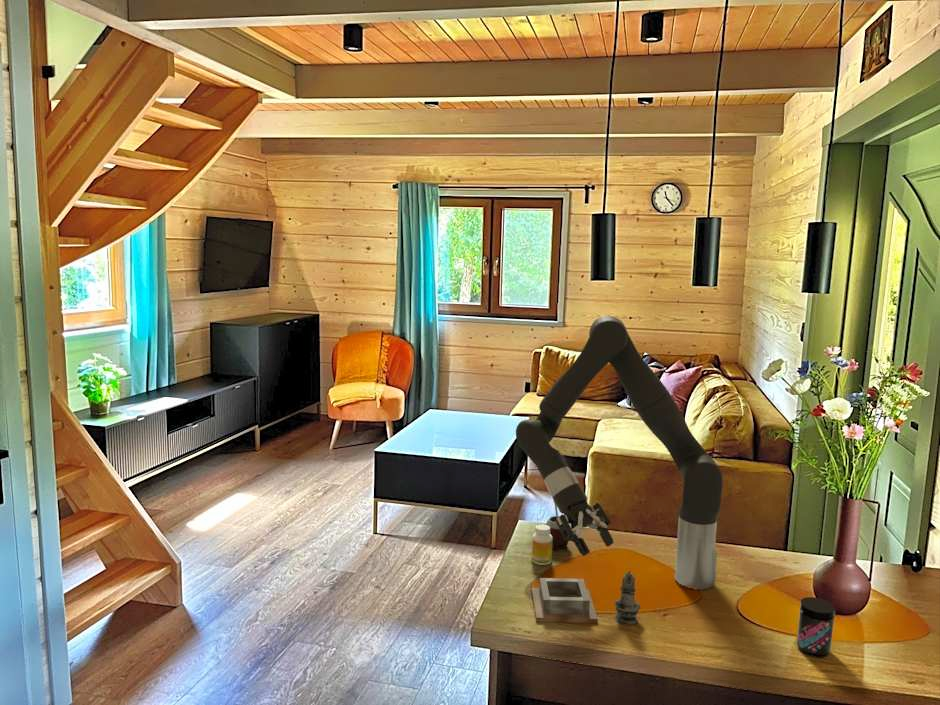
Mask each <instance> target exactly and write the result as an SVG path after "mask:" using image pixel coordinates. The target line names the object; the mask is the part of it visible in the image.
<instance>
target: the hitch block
mask: <svg viewBox="0 0 940 705" xmlns="http://www.w3.org/2000/svg"><path fill="white" fill-rule="evenodd" d="M531 595H532V596H531V597H532V604H533V609H534V610H533V611H534V616H535V622H536V623H537V622H538V623H579V624H580V623H583V624H598V623H599V622H598V621H599V618H598V615H597V611H596V609H595V605H594V603H593V600H592V597H591V593H590V590H589V588H587V586H586V584H585V580H584V578H560V577H559V578H557V577H555V578H549V577H540V578H539V587H531Z"/></svg>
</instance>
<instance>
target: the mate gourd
mask: <svg viewBox="0 0 940 705" xmlns="http://www.w3.org/2000/svg"><path fill="white" fill-rule="evenodd" d="M553 503H554V510H555V515H553V516H551V517H549V518H548V519H547V521H546V523H545V525H548V526H549V527H550V534H551V535H552V551H556V550H557V549H558V548H560V549H564V550H568V549H569V548H568V547H569V546H568V544H569V541H568V542H566V541H565V539H564V537H563V535H562V533H561V531H560V529H559V527H558V525H557V523H556V519H557V518H558V517H559V516H560V515H559V512H558V507H557V505H556V503H555V502H554V501H553ZM569 525H570V523H569ZM566 532H567V530H566ZM567 534H568V532H567Z"/></svg>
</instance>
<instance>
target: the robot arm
mask: <svg viewBox="0 0 940 705" xmlns="http://www.w3.org/2000/svg"><path fill="white" fill-rule="evenodd" d="M588 335H589V337H588V339H587V340H586V341H587V342H586V343H585V345H584V347H583V348H582V350H581V352H580V354H579V355H578V356H577V358H576V359H575V361H574V362H573V363H572V365H570V367H569V368H568V369H567V370H566V371H565V372H564V373H562V375H561V376H560V377H559V378H558V379H557V381H555V383H554V384H553V385H552V387H551V388H550V389H549V390H548V392H547V393H546V394H545V395H544V397H543V399H542V400H541V402H540V403H539V406H538V408H539V411H540V412H539V414H538V415H537V417H536V418H535V419H523V420H521V421H520V422H519V423H518V425H517V426H516V428H515V438H516V440H517V443H518V445H519V446H520V448H521V449H522V450H523V452H524V454H525V455H526V456H527V457H528V458H529V460H531V462H533V464H534V465H535V466H536V468H537V470H538V472H539V475H540V476H541V478H542V480H543V481H544V483H545V485H546V486H545V487H546V489H547V490H548V493H549V494H550V496H551V498H552V500H553V503H554V502H555V503H556V505H557V510H559V512H560V514H561V515H558V516H559V517H558V518H557V519H556V523H557V525H558V527H559V529H560V531H561V533H562V535H563V537H564V539H565V541H566V542H568V543H569V542H572V543H574V545H575V546H576V548H577V550H578V552H579V554H580V555H582V557H585V556H587V555H588V554H590V552H591V551H590V549H589V547H588V545H587V543H586V542H585V540H584V538H583V537H582V530H583V529H584V528H585V529H586V528H588V527H589V528H590V529H594V530H596V531H597V532H598V534H599V536H600V538H601V540H602V542H603V543H604V545H605V546H606V547H610V546H612V545H613V544H614V539H613V536H612V535H611V533H610V531H609V530H608V527H609V525H611V524H612V521H611V520H610V518H609V517H608V515H607V514H606V512H605V510H604V509H603V508H602V505H600V503H599V502H595V503H594V504H593V505H592V506H591V505H590V504H589V503H588V497H587V494H586V492H585V491H584V489H583V488H582V486H581V484H580V482H579V480H578V479H577V477H576V476H575V475H576V474H574V472H573V471H572V469H571V468H570V467H569V465H568V463H567V461H566V460H565V459H564V456H563V455H562V454H561V452H560V451H559V450H558V449H556V448H555V447H553V446H552V445H551V444H550V442H551V441H552V440H553V439H554V438H555V436H556V434H557V432H558V430H559V428H560V426H561V423H562V420H563V419H564V418H565V417H566V415H567V414H568V413H569V412H570V410H571V409H572V408H573V406H574V405H575V404H576V402H577V401H578V399H579V398H580V397H581V395H583V393H584V391H585V390H586V388H587V387H588V386H589V385H590V384H591V382H592V381H593V380H594V378H595V377H596V376H597V375H598V374H599V373H600V372H601V371H602V370H603V369H604V367H605V366H607V365H608V364H610V365H611V367H612V368H613V369H614V371H615V373H616V374H617V376H618V379H619V382H620V383H621V385H622V387H623V390H624V391H625V394H626V396H627V397H628V399H629V401H630V403H631V405H632V406H633V408H634V410H635V411H636V413H637V414H638V416H639V417H640V419H641V420H642V422H643V423H644V424H645V426H646V427H647V428H648V430H650V431H651V433H652V434H653V435H654V436H655V437H656V439H658V440H659V441H660V442H661V443H662V444H663V445H664V447H665V448H666V450H667V451H668V453H669V454H670V456H671V458H672V460H673V461H674V464H675V466H676V468H677V469H678V472H679V474H680V477H681V479H682V481H683V489H682V501H681V504H680V505H679V512H678V525H677V526H678V527H677V536H676V538H677V542H676V550H675V552H676V554H675V565H674V566H675V569H674V581H675V580H676V581H677V582H678V583H679V584H678V583H677V582H676V581H675V582H676V583H677V584H678V585H680V584H681V585H680V586H682V585H684V586H687V587H691V588H696V589H695V590H698V589H699V590H706V589H709V588H715V587H716V577H717V575H716V574H717V563H718V550H717V549H716V538H717V526H718V524H717V523H718V514H719V513H720V511H721V505H722V503H721V502H722V495H723V486H724V485H723V483H724V478H723V472H722V470H721V469H720V467H719V465H718V464H717V463H716V461H715V460H714V459H713V458H712V456H711V455H710V454H708V452H707V451H706V450H705V449H704V448H703V446H701V444H700V443H699V441H698V440H697V439H696V438H695V437H694V434H693V433H692V432H691V430H690V429H689V426H688V424H687V421H686V419H685V417H684V416H683V414H682V411H681V410H680V407H679V406H678V404H677V402H676V401H675V400H674V398H673V397H672V395H671V393H670V391H669V390H668V389H667V387H666V386H665V384H664V383H663V382H662V381H661V379H660V378H659V377H658V375H657V374H656V373H655V372H654V371H653V369H652V368H651V367H650V366H649V365H648V363H647V362H646V361H645V360H644V359H643V357H642V356H641V354H640V353H639V352H638V349H637V348H636V346H635V344H634V342H633V340H632V339H631V337H630V334H629V332H628V331H627V328H626V325H625V324H624V322H623V321H622V320H621V319H619V318H617V317H615V316H613V315H602V316H600V317H598V318H596V319H595V320H594V321H593V322H592V324H591V326H590V330H589V333H588ZM555 503H554V504H555ZM569 523H570V525H569ZM566 530H567V532H568V534H567V532H566ZM684 586H683V587H684ZM687 587H686V588H687Z"/></svg>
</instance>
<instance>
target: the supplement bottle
mask: <svg viewBox="0 0 940 705" xmlns="http://www.w3.org/2000/svg"><path fill="white" fill-rule="evenodd" d="M534 531H535V532H534V533H533V535H532V541H531V542H532V543H531V562H533V563H534V564H535V565H540V566H545V565H550V564H551V563H552V559H553V550H552V548H553V546H552V535H551V534H550V527H549V526H548V525H546V524H543V523H541V524H536V525H535V530H534Z"/></svg>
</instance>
